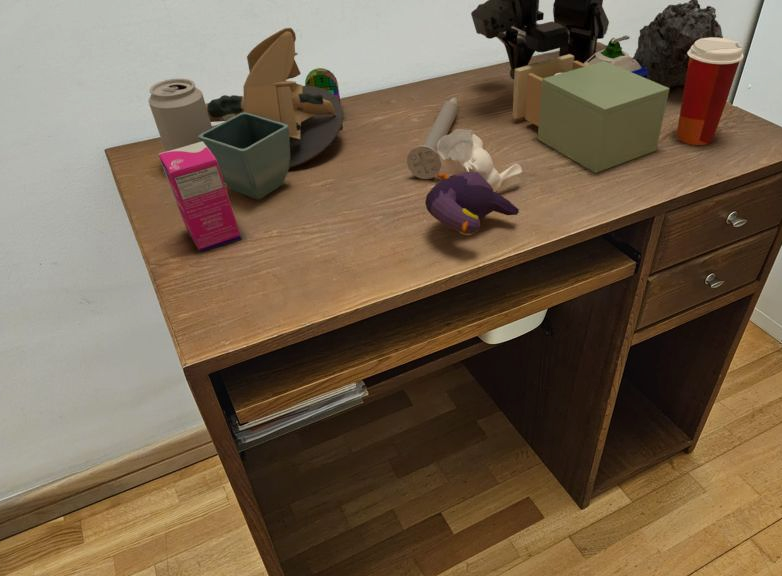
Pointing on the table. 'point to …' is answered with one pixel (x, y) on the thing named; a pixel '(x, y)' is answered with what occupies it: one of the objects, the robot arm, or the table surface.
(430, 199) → the toy
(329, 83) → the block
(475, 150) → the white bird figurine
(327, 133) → the toy
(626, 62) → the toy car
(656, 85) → the storage box
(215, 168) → the supplement box
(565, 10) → the robot arm
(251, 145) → the flower pot
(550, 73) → the drawer
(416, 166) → the screw
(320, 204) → the table surface
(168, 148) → the can
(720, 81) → the paper cup
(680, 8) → the rock
